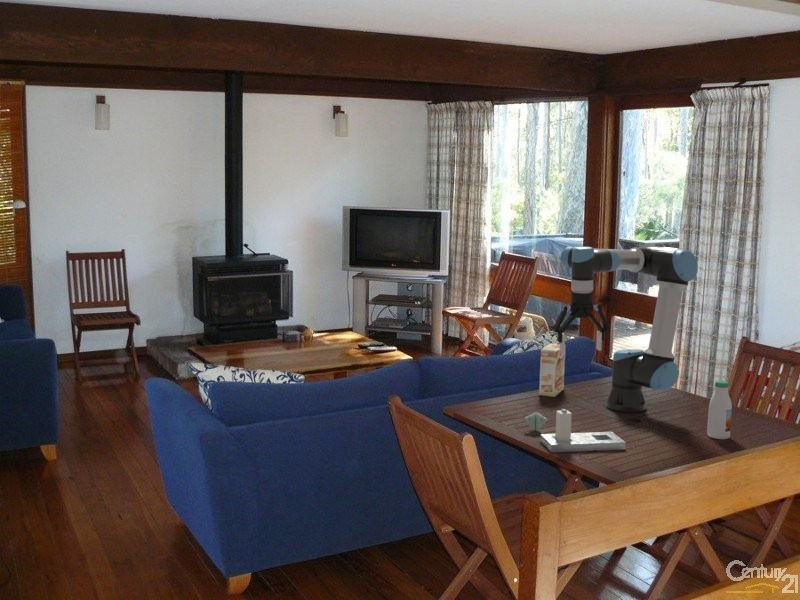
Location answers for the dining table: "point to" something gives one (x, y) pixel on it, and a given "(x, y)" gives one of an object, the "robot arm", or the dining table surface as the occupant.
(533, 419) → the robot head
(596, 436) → the panel
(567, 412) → the plug
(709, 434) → the milk bottle
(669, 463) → the dining table surface
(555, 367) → the coffeecake box
